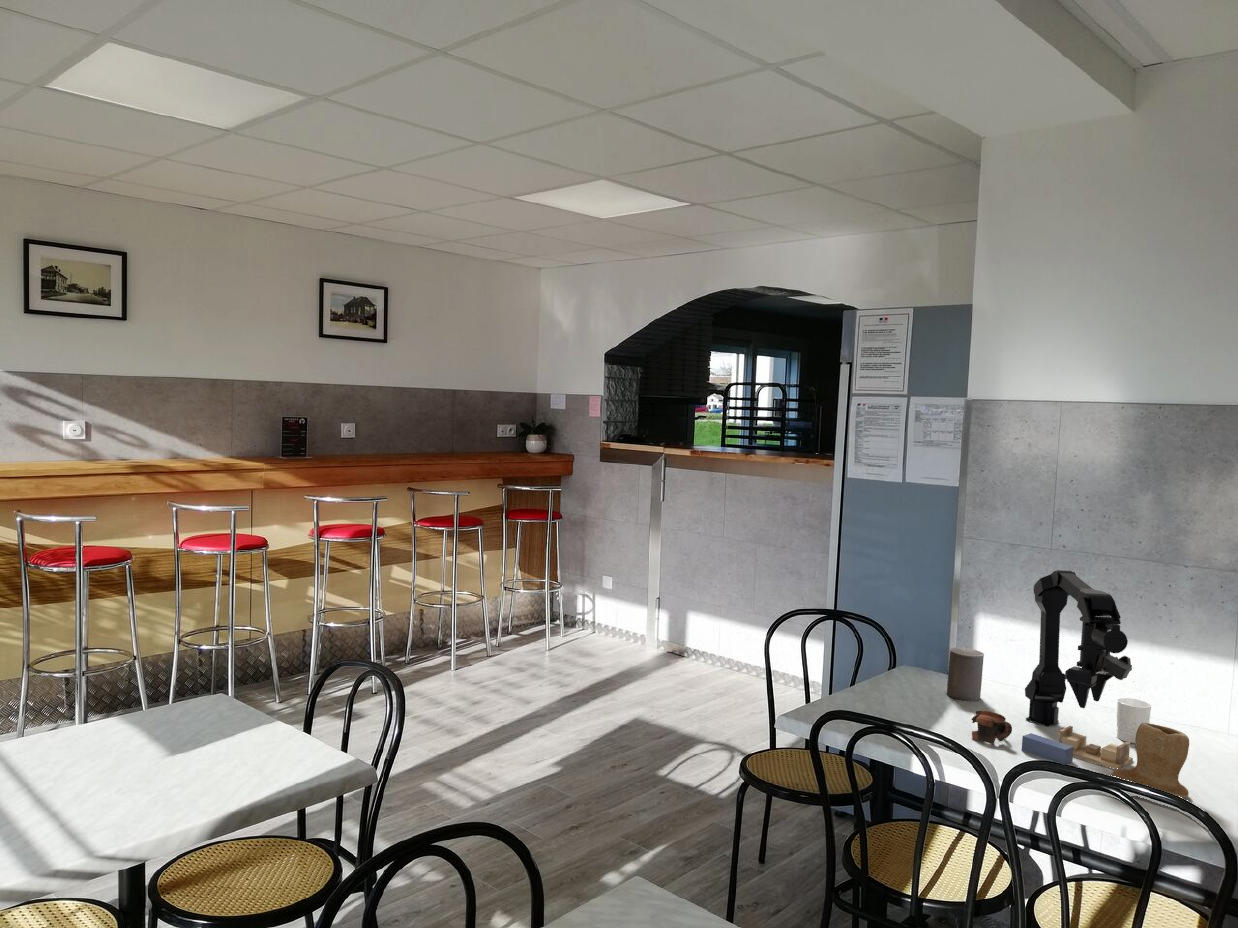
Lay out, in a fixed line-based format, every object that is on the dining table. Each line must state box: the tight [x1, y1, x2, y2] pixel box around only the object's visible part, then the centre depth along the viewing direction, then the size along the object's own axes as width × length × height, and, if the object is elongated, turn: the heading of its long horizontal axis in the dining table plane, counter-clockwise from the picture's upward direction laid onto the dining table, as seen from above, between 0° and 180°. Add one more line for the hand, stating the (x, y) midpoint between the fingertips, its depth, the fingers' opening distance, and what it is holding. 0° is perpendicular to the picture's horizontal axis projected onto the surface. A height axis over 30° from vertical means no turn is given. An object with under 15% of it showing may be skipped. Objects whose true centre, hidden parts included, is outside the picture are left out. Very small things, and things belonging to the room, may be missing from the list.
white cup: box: [1116, 697, 1152, 745], centre depth 245 cm, size 8×8×10 cm
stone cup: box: [1110, 722, 1190, 799], centre depth 211 cm, size 15×12×15 cm
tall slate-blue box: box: [1021, 732, 1074, 766], centre depth 230 cm, size 11×4×4 cm, turn 37°
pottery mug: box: [971, 710, 1013, 745], centre depth 241 cm, size 12×10×8 cm
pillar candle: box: [945, 646, 985, 702], centre depth 277 cm, size 10×10×15 cm
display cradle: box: [1058, 725, 1134, 770], centre depth 231 cm, size 10×15×5 cm, turn 41°
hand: (1089, 704), depth 231 cm, fingers open, 9 cm apart
